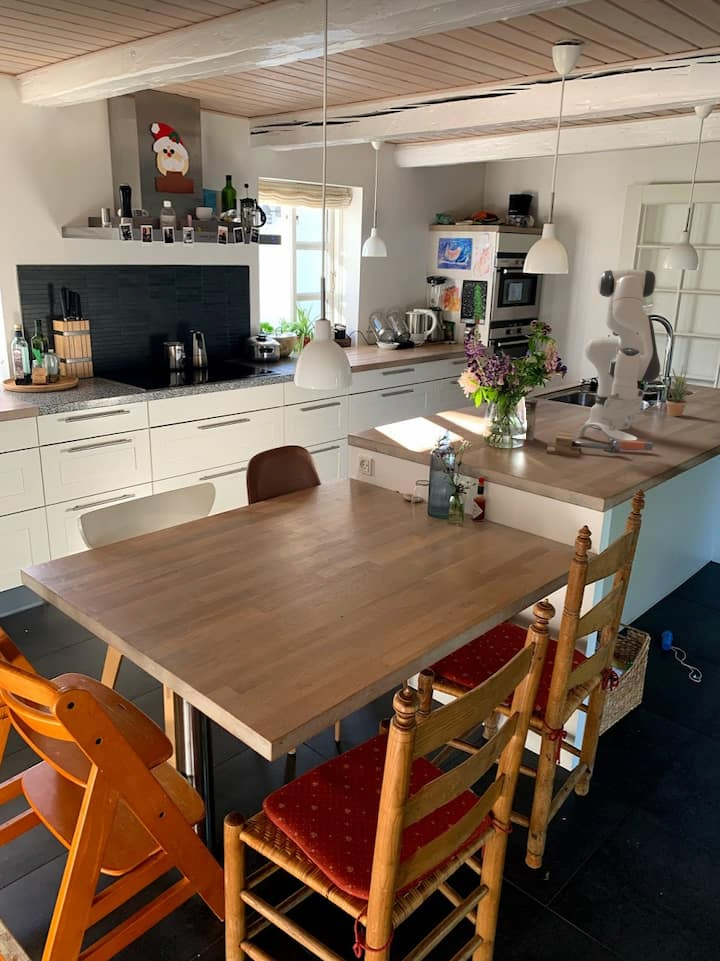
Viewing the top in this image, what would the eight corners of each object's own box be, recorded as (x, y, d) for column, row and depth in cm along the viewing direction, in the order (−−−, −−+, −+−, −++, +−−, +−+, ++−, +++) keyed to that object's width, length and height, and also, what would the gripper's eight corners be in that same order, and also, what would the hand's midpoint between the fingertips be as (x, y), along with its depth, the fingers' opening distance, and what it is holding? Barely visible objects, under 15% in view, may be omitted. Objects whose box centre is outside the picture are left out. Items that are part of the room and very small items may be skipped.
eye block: (548, 444, 303) (550, 429, 301) (579, 447, 300) (581, 432, 298) (546, 453, 290) (548, 437, 288) (578, 456, 287) (580, 440, 285)
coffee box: (509, 438, 311) (513, 400, 306) (512, 435, 316) (515, 397, 312) (532, 441, 308) (536, 402, 303) (534, 437, 314) (538, 399, 309)
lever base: (603, 447, 300) (604, 436, 299) (618, 449, 299) (620, 438, 298) (603, 451, 295) (604, 440, 294) (619, 452, 293) (620, 441, 292)
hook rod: (556, 445, 296) (557, 435, 295) (620, 451, 290) (621, 441, 289) (556, 446, 294) (557, 436, 292) (620, 453, 287) (622, 442, 286)
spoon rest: (640, 444, 308) (642, 427, 306) (630, 450, 299) (632, 432, 297) (584, 435, 322) (586, 418, 319) (573, 439, 313) (575, 423, 311)
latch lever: (615, 448, 295) (616, 441, 295) (615, 447, 297) (615, 440, 296) (651, 450, 293) (652, 443, 292) (650, 449, 295) (651, 442, 294)
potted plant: (660, 414, 364) (667, 363, 357) (669, 412, 370) (677, 362, 363) (680, 418, 357) (688, 366, 350) (689, 416, 363) (697, 364, 356)
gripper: (615, 397, 274) (610, 434, 279) (646, 390, 286) (641, 426, 291) (600, 394, 279) (595, 430, 283) (631, 388, 291) (627, 422, 295)
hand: (619, 428), depth 287 cm, fingers open, 8 cm apart
